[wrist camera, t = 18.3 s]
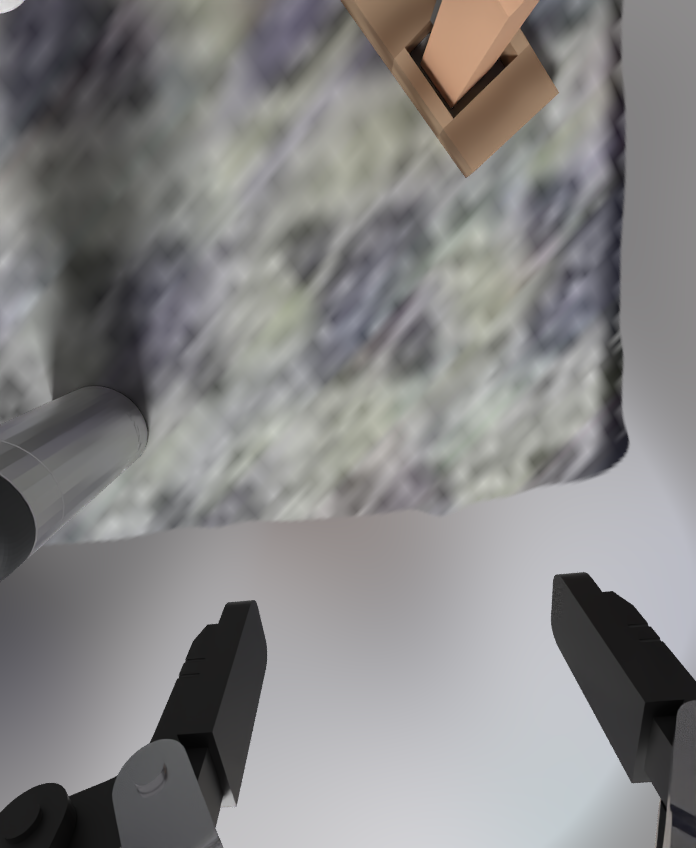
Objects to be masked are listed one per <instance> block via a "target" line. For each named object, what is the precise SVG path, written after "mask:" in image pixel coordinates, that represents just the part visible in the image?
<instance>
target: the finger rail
mask: <svg viewBox="0 0 696 848" xmlns="http://www.w3.org/2000/svg"><path fill="white" fill-rule="evenodd" d="M341 2H342V3H343V5H344V6H345V7H346V9H347V10H348V12H349V13H350V15H351V16H352V17H353V19H354V20H355V22H356V23H357V24H358V26H359V27H360V29H361V30H362V32H363V33H364V34H365V36H366V37H367V39H368V40H369V41H370V43H371V44H372V46H373V47H374V49H375V50H376V51H377V53H378V54H379V56H380V57H381V58H382V60H383V61H384V63H385V64H386V66H387V67H388V68H389V70H390V71H391V73H392V74H393V76H394V77H395V78H396V80H397V81H398V83H399V84H400V85H401V87H402V88H403V90H404V91H405V93H406V94H407V95H408V97H409V98H410V100H411V101H412V102H413V104H414V105H415V107H416V108H417V110H418V111H419V112H420V114H421V115H422V117H423V118H424V119H425V121H426V122H427V124H428V125H429V127H430V128H431V129H432V131H433V132H434V134H435V135H436V137H437V138H438V139H439V141H440V142H441V144H442V145H443V146H444V148H445V149H446V151H447V152H448V154H449V155H450V156H451V158H452V159H453V161H454V162H455V163H456V165H457V166H458V168H459V169H460V171H461V172H462V173H463V175H464V176H465V178H467V177H468V176H469V175H470V174H472V173H473V172H474V171H475V170H476V169H477V168H479V167H480V166H481V165H482V164H483V163H484V162H485V161H486V160H487V159H488V158H489V157H490V156H491V155H493V154H494V153H495V152H496V151H497V150H498V149H499V148H500V147H501V146H502V145H503V144H504V143H505V142H506V141H508V140H509V139H510V138H511V137H512V136H513V135H514V134H515V133H516V132H517V131H518V130H519V129H520V128H522V127H523V126H524V125H525V124H526V123H527V122H528V121H529V120H530V119H531V118H532V117H533V116H534V115H536V114H537V113H538V112H539V111H540V110H541V109H542V108H543V107H544V106H545V105H546V104H547V103H548V102H550V101H551V100H552V99H553V98H554V97H555V96H556V95H557V94H558V93H559V92H558V90H557V89H556V87H555V85H554V84H553V82H552V80H551V79H550V77H549V75H548V74H547V72H546V70H545V69H544V67H543V65H542V64H541V62H540V61H539V59H538V57H537V56H536V54H535V52H534V51H533V49H532V47H531V46H530V44H529V42H528V41H527V39H526V37H525V36H524V34H523V32H522V31H521V29H520V28H519V30H518V31H517V33H516V34H515V35H514V37H513V38H512V40H511V41H510V43H509V44H508V45H507V47H506V48H505V50H504V51H503V52H502V54H501V55H500V57H499V58H500V59H501V61H502V62H503V64H504V66H505V67H506V68H505V69H504V70H503V71H502V72H501V73H500V74H499V75H498V76H497V77H496V78H495V79H494V80H493V81H492V82H490V83H489V84H488V85H487V86H486V87H485V88H484V89H483V90H482V91H481V92H480V93H479V94H478V95H477V96H476V97H475V98H474V99H473V100H472V101H471V102H470V103H469V104H468V105H467V106H466V107H465V108H464V109H463V110H462V111H461V112H460V113H459V114H458V115H457V116H456V117H455V118H454V119H453V117H452V116H451V114H450V113H449V112H448V110H447V109H446V107H445V106H444V104H443V103H442V101H441V100H440V98H439V97H438V95H437V94H436V93H435V91H434V90H433V88H432V87H431V85H430V84H429V82H428V81H427V79H426V78H425V77H424V75H423V74H422V72H421V71H420V69H419V68H418V66H417V65H416V63H415V62H414V60H413V59H412V58H411V56H410V55H409V53H410V52H411V51H412V50H413V49H414V48H415V47H416V46H417V45H418V44H419V43H420V42H421V41H422V40H423V39H424V38H425V37H426V36H427V35H428V33H429V32H430V31H431V30H432V29H433V26H434V25H433V24H432V22H431V21H430V19H431V16H432V13H433V10H434V6H435V3H436V0H341Z"/></svg>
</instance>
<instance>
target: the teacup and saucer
mask: <svg viewBox="0 0 696 848" xmlns="http://www.w3.org/2000/svg"><path fill="white" fill-rule="evenodd" d="M24 1H25V0H0V13H5V12H9V11H11V10H13V9H15V8H17V7H18V6H20V5H21V4H22V3H23V2H24Z"/></svg>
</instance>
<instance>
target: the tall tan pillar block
mask: <svg viewBox="0 0 696 848" xmlns="http://www.w3.org/2000/svg"><path fill="white" fill-rule="evenodd" d="M538 1H539V0H436V3H435V6H434V10H433V13H432V16H431V19H430V21H431V22H432V24H433V25H434V26H433V29H432V32H431V35H430V38H429V41H428V43H427V46H426V49H425V52H424V55H423V58H422V61H421V64H420V65H421V67H422V68H423V69H424V71H425V72H426V74H427V75H428V77H429V78H430V79H431V81H432V82H433V84H434V85H435V87H436V88H437V90H438V91H439V92H440V94H441V95H442V97H443V98H444V100H445V101H446V103H447V104H448V105H449V107H450V108H452V107H453V106H454V105H455V104H456V103H457V102H458V101H459V100H460V99H461V98H462V97H463V96H464V95H465V94H466V93H467V92H468V91H469V90H470V89H471V88H472V87H473V86H474V85H475V84H476V83H477V82H478V81H479V80H480V79H481V78H482V77H483V76H484V75H485V74H486V73H487V72H488V71H489V70H490V69H491V68H492V67H493V65H494V64H495V62H496V61H497V60H498V58H499V57H500V55H501V54H502V52H503V51H504V50H505V48H506V47H507V45H508V44H509V43H510V41H511V40H512V38H513V37H514V35H515V34H516V33H517V31H518V30H519V28H520V27H521V26H522V24H523V23H524V21H525V20H526V18H527V17H528V16H529V14H530V13H531V11H532V10H533V9H534V7H535V6H536V4H537V3H538Z"/></svg>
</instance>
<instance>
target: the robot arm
mask: <svg viewBox="0 0 696 848" xmlns="http://www.w3.org/2000/svg"><path fill="white" fill-rule="evenodd" d="M147 435H148V432H147V427H146V423H145V420H144V418H143V415H142V414H141V412H140V411H139V409H138V408H137V407H136V405H135V404H134V403H133V402H132V401H131V400H130V399H128V398H127V397H125V396H124V395H123V394H121V393H119V392H117V391H115V390H113V389H109V388H106V387H100V386H89V387H83V388H80V389H78V390H75V391H73V392H71V393H68V394H66V395H64V396H62V397H60V398H57V399H55V400H53V401H50V402H48V403H46V404H44V405H42V406H39V407H37V408H35V409H33V410H31V411H28V412H26V413H24V414H22V415H20V416H17V417H15V418H13V419H11V420H9V421H6V422H4V423H2V424H0V582H1V581H2V580H4V579H5V578H6V577H7V576H9V574H11V573H12V572H13V571H14V570H15V569H16V568H17V567H19V566H20V565H21V564H22V563H23V562H24V561H25V560H26V559H27V558H29V557H30V556H31V555H32V554H33V553H34V552H35V551H36V550H37V549H39V548H40V547H41V546H42V545H43V544H44V543H45V542H46V541H47V540H49V539H50V538H51V537H52V536H53V535H54V534H55V533H56V532H57V531H58V530H59V529H60V528H62V527H63V526H64V525H65V524H66V523H67V522H68V521H69V520H70V519H72V518H73V517H74V516H75V515H76V514H77V513H78V512H79V511H80V510H82V509H83V508H84V507H85V506H86V505H87V504H88V503H89V502H90V501H91V500H93V499H94V498H95V497H96V496H97V495H98V494H99V493H100V492H101V491H103V490H104V489H105V488H106V487H107V486H108V485H109V484H110V483H111V482H113V481H114V480H115V479H116V478H117V477H118V476H119V475H120V474H122V473H123V472H124V471H125V470H126V469H127V468H128V467H129V466H130V465H131V464H132V463H134V462H135V461H136V460H137V459H138V458H139V457H140V456H141V454H142V453H143V451H144V449H145V447H146V443H147ZM552 594H553V595H552V610H551V625H552V631H553V635H554V638H555V640H556V643H557V645H558V647H559V649H560V651H561V653H562V655H563V657H564V659H565V660H566V662H567V664H568V666H569V668H570V669H571V671H572V673H573V675H574V677H575V679H576V681H577V683H578V684H579V686H580V688H581V690H582V692H583V694H584V695H585V697H586V699H587V701H588V703H589V705H590V707H591V708H592V710H593V712H594V714H595V716H596V718H597V720H598V721H599V723H600V725H601V727H602V729H603V731H604V733H605V734H606V736H607V738H608V740H609V742H610V744H611V745H612V747H613V749H614V751H615V753H616V755H617V757H618V758H619V760H620V762H621V764H622V766H623V768H624V770H625V771H626V773H627V775H628V777H629V779H630V781H631V783H641V782H642V783H643V782H652V784H653V786H654V787H655V789H656V791H657V793H658V794H659V796H660V802H659V808H658V818H657V828H656V838H655V848H696V681H695V680H694V679H693V677H692V676H691V675H690V674H689V672H688V671H687V670H686V669H685V668H684V666H683V665H682V664H681V663H680V662H679V660H678V659H677V658H676V657H675V655H674V654H673V653H672V652H671V651H670V649H669V648H668V647H667V646H666V645H665V643H664V642H663V641H662V642H661V640H660V637H659V636H658V635H657V634H656V632H655V631H654V630H653V629H652V628H651V627H649V626H648V623H647V622H646V620H645V619H644V618H643V617H642V615H641V614H640V613H639V612H638V611H637V609H636V608H635V607H634V606H633V605H632V604H630V603H629V602H627V601H626V600H625V599H623V598H622V597H620V596H619V595H617V594H616V593H614V592H613V591H610V592H602V591H601V590H600V588H599V587H598V586H597V584H596V583H595V582H594V580H593V579H592V578H591V577H590V576H589V574H587V573H585V572H583V573H571V574H559V575H555V576H554V579H553V592H552ZM266 664H267V645H266V639H265V635H264V631H263V627H262V622H261V619H260V615H259V610H258V606H257V603H256V601H255V600H251V601H240V602H228V603H227V604H226V605H225V607H224V610H223V612H222V615H221V618H220V620H219V623H218V624H210V625H207V626H206V627H205V628H204V629H203V630H202V632H201V633H200V634H199V635H198V636H197V637H196V639H195V640H194V641H193V643H192V645H191V648H190V650H189V652H188V655H187V657H186V662H185V663H184V664H183V666H182V669H181V671H180V674H179V679H177V681H176V683H175V686H174V688H173V690H172V693H171V695H170V697H169V700H168V702H167V704H166V707H165V709H164V711H163V714H162V716H161V718H160V721H159V723H158V726H157V728H156V730H155V733H154V735H153V737H152V739H151V741H150V743H149V744H147V745H146V746H144V747H142V748H141V749H140V750H138V751H137V752H136V753H135V754H134V755H133V756H131V758H130V759H129V760H128V761H127V762H126V763H125V765H124V766H123V768H122V769H121V771H120V772H119V774H118V775H117V776H116V777H114V778H112V779H110V780H108V781H106V782H103V783H100V784H98V785H96V786H93V787H91V788H88V789H86V790H83V791H81V792H78V793H76V794H73V795H71V796H68V794H67V792H66V790H65V789H64V788H63V787H62V786H61V785H59V784H56V783H46V784H41V785H38V786H36V787H33V788H31V789H29V790H28V791H26V792H24V793H23V794H21V795H20V796H18V797H17V798H16V799H14V800H13V801H12V802H11V803H10V804H9V805H7V806H6V807H5V808H4V809H3V810H2V811H1V812H0V848H223V846H222V843H221V841H220V838H219V836H218V834H217V831H216V829H215V827H216V824H217V819H218V815H219V811H220V808H223V807H236V806H237V801H238V797H239V792H240V787H241V782H242V778H243V773H244V769H245V763H246V759H247V754H248V750H249V745H250V740H251V736H252V731H253V726H254V721H255V717H256V712H257V708H258V703H259V698H260V693H261V689H262V684H263V679H264V675H265V670H266Z"/></svg>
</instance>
